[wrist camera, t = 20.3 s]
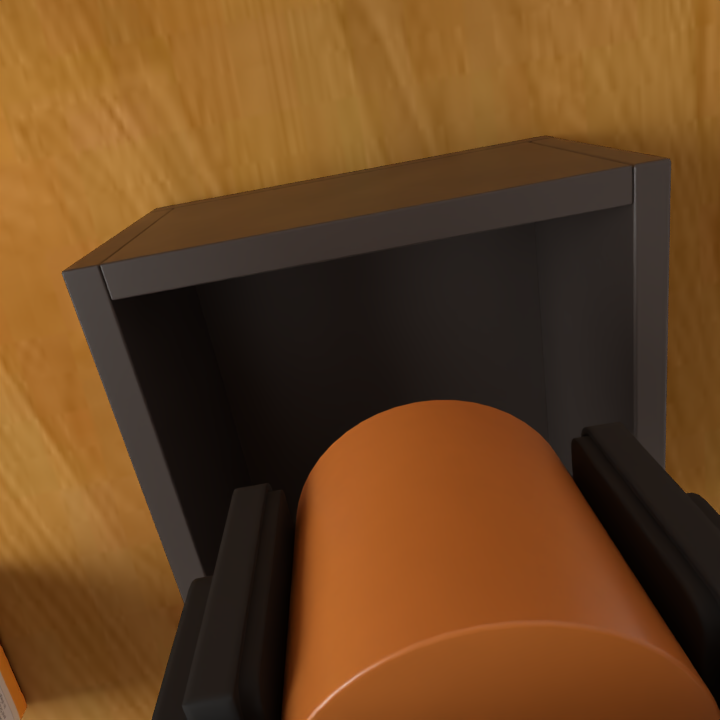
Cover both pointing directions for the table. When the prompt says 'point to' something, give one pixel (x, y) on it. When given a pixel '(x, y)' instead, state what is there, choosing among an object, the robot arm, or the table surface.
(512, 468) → the orange cylinder
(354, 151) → the table surface
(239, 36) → the table surface
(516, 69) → the table surface
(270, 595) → the robot arm
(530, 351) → the box
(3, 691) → the supplement box
